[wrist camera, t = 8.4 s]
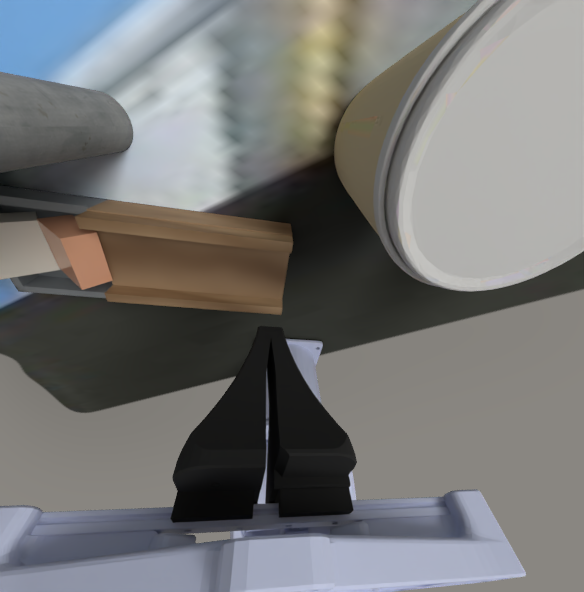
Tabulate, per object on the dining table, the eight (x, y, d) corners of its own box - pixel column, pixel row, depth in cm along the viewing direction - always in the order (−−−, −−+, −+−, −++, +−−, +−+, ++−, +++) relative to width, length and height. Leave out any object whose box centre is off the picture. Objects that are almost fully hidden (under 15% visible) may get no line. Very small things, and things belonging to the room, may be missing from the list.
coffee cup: (475, 144, 17) (743, 170, 7) (369, 234, 21) (453, 331, 11) (415, 1, 13) (865, -392, 3) (294, 146, 16) (324, 177, 7)
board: (280, 291, 24) (281, 315, 21) (130, 277, 22) (107, 302, 19) (290, 223, 20) (293, 241, 17) (107, 199, 18) (73, 214, 15)
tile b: (-18, 282, 16) (-15, 269, 17) (60, 269, 19) (57, 259, 20) (-58, 226, 14) (-52, 215, 15) (36, 220, 16) (35, 211, 17)
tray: (133, 286, 22) (122, 299, 21) (38, 278, 21) (18, 291, 19) (107, 199, 18) (91, 207, 16) (-17, 183, 16) (-48, 189, 15)
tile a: (112, 280, 18) (82, 290, 17) (89, 261, 20) (59, 268, 19) (96, 232, 16) (60, 238, 15) (71, 214, 18) (36, 218, 16)
